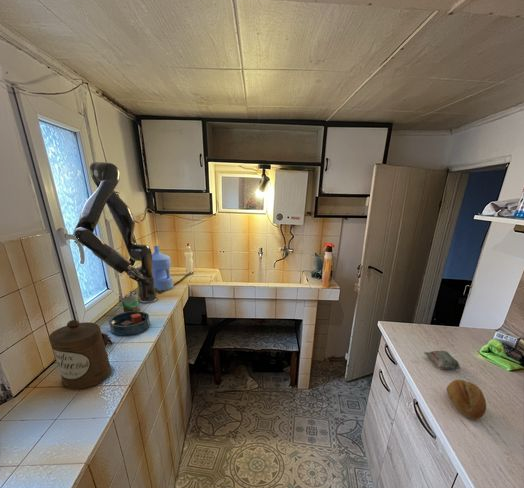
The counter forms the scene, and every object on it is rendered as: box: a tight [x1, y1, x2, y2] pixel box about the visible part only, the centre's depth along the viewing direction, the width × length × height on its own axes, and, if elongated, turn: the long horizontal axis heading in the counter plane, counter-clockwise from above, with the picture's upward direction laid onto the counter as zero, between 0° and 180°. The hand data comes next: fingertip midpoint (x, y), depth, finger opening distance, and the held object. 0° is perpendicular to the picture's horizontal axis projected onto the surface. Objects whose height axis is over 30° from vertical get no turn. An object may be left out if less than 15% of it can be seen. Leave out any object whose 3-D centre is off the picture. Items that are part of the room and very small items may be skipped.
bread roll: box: [446, 379, 487, 420], centre depth 90 cm, size 10×15×8 cm, turn 168°
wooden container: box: [48, 319, 112, 390], centre depth 97 cm, size 15×15×22 cm
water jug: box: [152, 245, 175, 292], centre depth 186 cm, size 16×16×28 cm
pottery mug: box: [101, 332, 113, 348], centre depth 118 cm, size 12×10×8 cm
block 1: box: [120, 321, 134, 326], centre depth 132 cm, size 4×4×4 cm
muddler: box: [139, 277, 149, 300], centre depth 141 cm, size 4×4×11 cm
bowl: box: [108, 310, 151, 336], centre depth 136 cm, size 18×18×5 cm
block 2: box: [131, 313, 143, 324], centre depth 139 cm, size 4×4×4 cm
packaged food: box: [423, 350, 462, 370], centre depth 113 cm, size 9×12×5 cm
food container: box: [120, 290, 140, 313], centre depth 153 cm, size 12×6×10 cm, turn 179°
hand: (148, 283), depth 141 cm, fingers closed on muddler, 2 cm apart
